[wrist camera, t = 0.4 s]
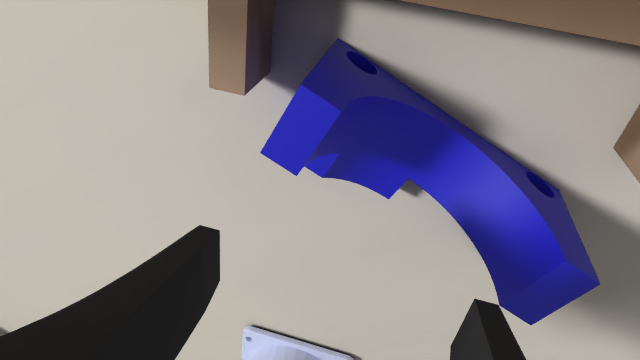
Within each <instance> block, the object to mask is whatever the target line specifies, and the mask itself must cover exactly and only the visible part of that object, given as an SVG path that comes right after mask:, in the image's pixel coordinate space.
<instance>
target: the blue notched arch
mask: <svg viewBox="0 0 640 360" xmlns="http://www.w3.org/2000/svg"><path fill="white" fill-rule="evenodd" d="M260 153H261V154H263V155H264V156H266V157H268V158H269V159H271V160H272V161H274V162H275V163H277V164H279V165H280V166H282V167H283V168H285V169H286V170H288V171H290V172H291V173H293V174H294V175H296V176H297V175H298V173H299V172H300V170H301V169H302V168H303V167H304V166H305V167H306V168H308V169H309V170H311V171H313V172H314V173H316V174H317V175H319V176H320V177H322V178H336V179H342V180H347V181H351V182H354V183H357V184H360V185H362V186H365V187H367V188H369V189H371V190H373V191H375V192H377V193H379V194H381V195H382V196H384V197H386V198H387V199H390V197H391V196H392V195H393V194H394V193H395V192H396V191H397V190H398V189H399V188H400V187H401V186H402V185H403V183H404V182H405V181H406V180H407V179H408V178H409V179H410V180H412V181H413V182H414V183H416V184H417V185H419V186H420V187H421V188H423V189H424V190H425V191H426V192H427V193H429V194H430V195H431V196H432V197H433V198H434V199H436V200H437V201H438V202H439V203H440V204H441V205H442V206H443V207H444V208H445V209H446V210H447V211H448V212H449V213H450V214H451V215H452V217H453V218H454V219H455V220H456V221H457V222H458V224H459V225H460V226H461V227H462V228H463V230H464V231H465V232H466V234H467V235H468V236H469V238H470V239H471V241H472V242H473V244H474V245H475V247H476V248H477V250H478V252H479V253H480V255H481V257H482V259H483V260H484V262H485V264H486V266H487V268H488V271H489V273H490V275H491V278H492V280H493V283H494V285H495V289H496V292H497V296H498V300H499V305H500V306H501V307H503V308H504V309H506V310H508V311H509V312H511V313H512V314H514V315H515V316H517V317H519V318H520V319H522V320H523V321H525V322H526V323H528V324H530V325H532V324H534V323H536V322H537V321H539V320H541V319H542V318H544V317H546V316H548V315H549V314H551V313H553V312H554V311H556V310H558V309H559V308H561V307H563V306H564V305H566V304H568V303H569V302H571V301H573V300H574V299H576V298H578V297H579V296H581V295H583V294H585V293H586V292H588V291H590V290H591V289H593V288H595V287H596V286H598V285H600V282H599V280H598V277H597V275H596V273H595V271H594V268H593V266H592V264H591V262H590V259H589V257H588V255H587V253H586V250H585V248H584V246H583V244H582V241H581V239H580V237H579V234H578V232H577V230H576V228H575V225H574V223H573V221H572V219H571V216H570V214H569V212H568V210H567V207H566V205H565V203H564V201H563V198H562V196H561V194H560V192H559V190H558V189H556V188H555V187H553V186H552V185H550V184H549V183H548V182H546V181H545V180H543V179H542V178H540V177H539V176H537V175H536V174H535V173H533V172H532V171H530V170H529V169H527V168H526V167H524V166H523V165H521V164H520V163H519V162H517V161H516V160H514V159H513V158H511V157H510V156H508V155H507V154H505V153H504V152H503V151H501V150H500V149H498V148H497V147H495V146H494V145H492V144H491V143H490V142H488V141H487V140H485V139H484V138H482V137H481V136H479V135H478V134H476V133H475V132H474V131H472V130H471V129H469V128H468V127H466V126H465V125H463V124H462V123H460V122H459V121H458V120H456V119H455V118H453V117H452V116H450V115H449V114H447V113H446V112H445V111H443V110H442V109H440V108H439V107H437V106H436V105H434V104H433V103H431V102H430V101H429V100H427V99H426V98H424V97H423V96H421V95H420V94H418V93H417V92H415V91H414V90H413V89H411V88H410V87H408V86H407V85H405V84H404V83H402V82H401V81H400V80H398V79H397V78H395V77H394V76H392V75H391V74H389V73H388V72H386V71H385V70H384V69H382V68H381V67H379V66H378V65H376V64H375V63H373V62H372V61H370V60H369V59H368V58H366V57H365V56H363V55H362V54H360V53H359V52H357V51H356V50H355V49H353V48H352V47H350V46H349V45H347V44H346V43H344V42H343V41H341V40H340V39H339V38H338V39H337V40H336V41H335V43H334V44H333V45H332V46H331V48H330V49H329V50H328V51H327V52H326V54H325V55H324V56H323V57H322V59H321V60H320V61H319V62H318V64H317V65H316V66H315V67H314V69H313V70H312V71H311V72H310V74H309V75H308V76H307V77H306V79H305V80H304V81H303V82H302V83H301V85H300V87H299V88H298V90H297V92H296V93H295V95H294V97H293V98H292V100H291V102H290V103H289V105H288V107H287V108H286V110H285V112H284V114H283V115H282V117H281V119H280V120H279V122H278V124H277V125H276V127H275V129H274V130H273V132H272V134H271V135H270V137H269V139H268V140H267V142H266V144H265V146H264V147H263V149H262V151H261V152H260Z"/></svg>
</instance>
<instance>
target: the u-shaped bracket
mask: <svg viewBox="0 0 640 360" xmlns="http://www.w3.org/2000/svg"><path fill="white" fill-rule="evenodd" d="M401 1H406V2H411V3H417V4H422V5H427V6H432V7H438V8H443V9H448V10H453V11H459V12H464V13H469V14H474V15H480V16H485V17H490V18H496V19H501V20H506V21H511V22H517V23H522V24H527V25H532V26H538V27H543V28H548V29H553V30H559V31H564V32H569V33H575V34H580V35H585V36H590V37H596V38H601V39H606V40H611V41H617V42H622V43H627V44H632V45H638V46H640V0H401ZM273 14H274V0H208V35H209V88H213V89H217V90H222V91H226V92H231V93H235V94H239V95H244V96H245V95H246V94H247V93H248V92H249V91H250V90H251V89H252V88H253V87H254V86H255V85H256V84H258V83H259V82H260V81H261V80H262V79H263V78H264V77H265V76H266V75H267V74H268V73H269V72H270V59H271V44H272V29H273ZM614 149H615V151H616V152H617V153H618V155H619V156H620V157H621V159H622V160H623V161H624V163H625V164H626V165H627V167H628V168H629V169H630V171H631V172H632V173H633V175H634V176H635V177H636V179H637V180H638V181H639V183H640V105H639V107H638V109H637V110H636V112H635V113H634V115H633V117H632V118H631V120H630V122H629V123H628V125H627V126H626V128H625V130H624V131H623V133H622V135H621V136H620V138H619V139H618V141H617V143H616V144H615V146H614Z"/></svg>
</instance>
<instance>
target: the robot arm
mask: <svg viewBox="0 0 640 360" xmlns="http://www.w3.org/2000/svg"><path fill="white" fill-rule="evenodd" d="M219 281H220V230H216V229H212V228H208V227H205V226H201V225H199V226H198V227H196V228H195V229H193V230H192V231H190V232H189V233H187V234H186V235H184V236H183V237H181V238H180V239H178V240H177V241H176V242H174V243H173V244H171V245H170V246H168V247H167V248H165V249H164V250H162V251H161V252H159V253H158V254H156V255H155V256H153V257H152V258H150V259H149V260H147V261H146V262H144V263H143V264H141V265H140V266H138V267H136V268H135V269H133V270H132V271H130V272H129V273H127V274H125V275H124V276H122V277H120V278H118V279H117V280H115V281H113V282H112V283H110V284H108V285H107V286H105V287H103V288H102V289H100V290H98V291H96V292H94V293H93V294H91V295H89V296H87V297H85V298H83V299H81V300H80V301H78V302H76V303H74V304H72V305H70V306H68V307H66V308H64V309H62V310H60V311H58V312H56V313H53V314H51V315H49V316H47V317H45V318H42V319H40V320H38V321H36V322H33V323H31V324H29V325H26V326H24V327H22V328H20V329H17V330H15V331H13V332H10V333H8V334H6V335H3V336H1V337H0V360H175V358H176V357H177V355H178V354H179V352H180V350H181V349H182V347H183V346H184V344H185V343H186V341H187V340H188V338H189V336H190V335H191V333H192V332H193V330H194V328H195V327H196V325H197V324H198V322H199V320H200V319H201V317H202V316H203V314H204V312H205V311H206V308H207V306H208V304H209V302H210V300H211V298H212V296H213V294H214V292H215V290H216V288H217V285H218V283H219ZM242 360H354V359H353V358H352V357H351V356H349V355H345V354H342V353H339V352H335V351H332V350H329V349H325V348H322V347H319V346H315V345H312V344H309V343H305V342H302V341H299V340H295V339H292V338H289V337H285V336H282V335H279V334H275V333H272V332H269V331H265V330H262V329H259V328H255V327H252V326H246V327H245V329H244V331H243V342H242ZM450 360H526V358H525V356H524V354H523V352H522V351H521V349H520V347H519V345H518V343H517V341H516V339H515V337H514V335H513V333H512V331H511V329H510V327H509V325H508V323H507V321H506V319H505V317H504V315H503V313H502V311H501V309H500V307H499V306H498V305H496V304H492V303H489V302H485V301H481V300H477V299H474V301H473V303H472V305H471V307H470V309H469V311H468V313H467V315H466V317H465V319H464V321H463V323H462V325H461V327H460V329H459V331H458V333H457V335H456V337H455V339H454V341H453V343H452V345H451V352H450Z"/></svg>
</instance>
